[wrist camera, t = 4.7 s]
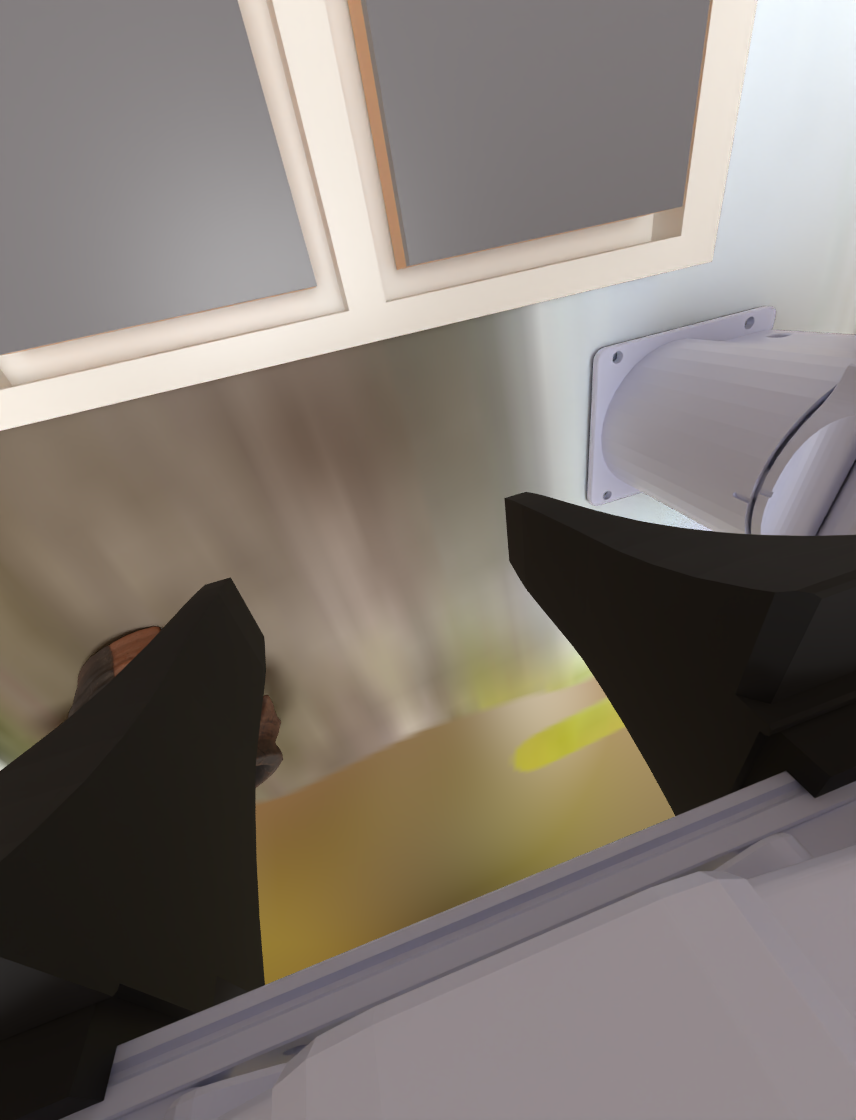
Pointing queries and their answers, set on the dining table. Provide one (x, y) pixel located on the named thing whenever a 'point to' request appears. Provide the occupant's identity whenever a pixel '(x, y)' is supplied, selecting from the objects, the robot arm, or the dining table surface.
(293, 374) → the dining table surface
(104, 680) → the brown grey irregular piece
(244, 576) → the dining table surface
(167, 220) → the middle button
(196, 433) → the dining table surface
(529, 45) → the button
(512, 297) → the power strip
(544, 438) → the dining table surface
